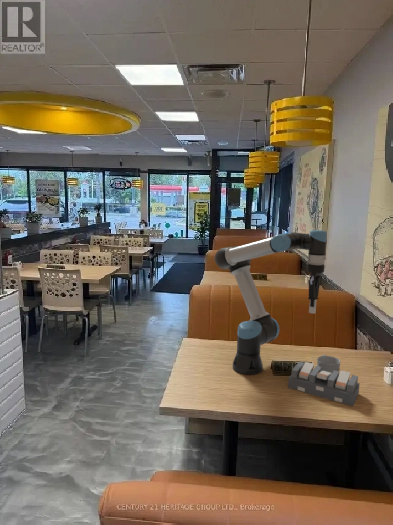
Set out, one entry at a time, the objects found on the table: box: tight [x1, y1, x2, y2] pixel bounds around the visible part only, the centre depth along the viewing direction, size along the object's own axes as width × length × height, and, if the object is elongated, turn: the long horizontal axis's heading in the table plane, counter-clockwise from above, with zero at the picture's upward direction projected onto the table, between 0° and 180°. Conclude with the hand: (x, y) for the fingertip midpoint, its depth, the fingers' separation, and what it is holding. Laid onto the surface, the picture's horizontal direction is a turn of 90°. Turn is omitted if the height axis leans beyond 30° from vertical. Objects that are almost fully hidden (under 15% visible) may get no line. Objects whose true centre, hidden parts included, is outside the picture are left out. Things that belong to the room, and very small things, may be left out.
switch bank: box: [287, 361, 360, 407], centre depth 172 cm, size 28×13×8 cm, turn 58°
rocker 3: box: [335, 370, 351, 390], centre depth 167 cm, size 4×10×2 cm, turn 148°
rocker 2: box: [317, 371, 331, 380], centre depth 171 cm, size 4×10×2 cm, turn 148°
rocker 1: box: [299, 361, 315, 380], centre depth 175 cm, size 4×10×2 cm, turn 148°
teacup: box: [316, 354, 341, 374], centre depth 190 cm, size 14×11×8 cm
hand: (312, 312), depth 180 cm, fingers closed
